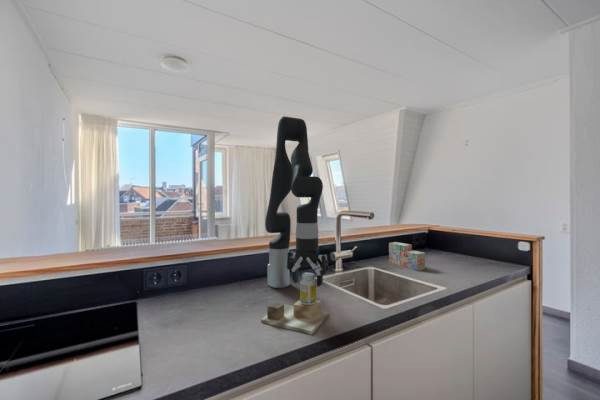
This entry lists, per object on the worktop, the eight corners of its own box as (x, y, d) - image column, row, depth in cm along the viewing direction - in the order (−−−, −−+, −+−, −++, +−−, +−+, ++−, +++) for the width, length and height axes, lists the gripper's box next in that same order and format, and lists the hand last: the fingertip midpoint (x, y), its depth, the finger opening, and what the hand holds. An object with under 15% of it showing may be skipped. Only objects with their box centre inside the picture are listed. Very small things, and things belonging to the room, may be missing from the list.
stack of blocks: (425, 269, 153) (425, 247, 152) (417, 271, 150) (417, 248, 150) (396, 261, 172) (396, 241, 172) (388, 262, 169) (388, 242, 169)
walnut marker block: (267, 318, 91) (267, 306, 91) (273, 313, 94) (273, 301, 94) (277, 320, 89) (277, 308, 89) (284, 315, 93) (284, 303, 93)
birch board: (260, 322, 90) (260, 319, 90) (282, 306, 103) (282, 304, 103) (311, 334, 82) (311, 331, 82) (328, 315, 95) (328, 313, 95)
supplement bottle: (300, 305, 91) (300, 276, 91) (299, 299, 96) (299, 272, 96) (317, 305, 91) (317, 276, 91) (314, 299, 97) (314, 271, 96)
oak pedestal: (293, 316, 92) (293, 304, 92) (302, 308, 98) (302, 297, 98) (312, 320, 89) (312, 308, 89) (321, 312, 95) (321, 300, 95)
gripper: (331, 235, 93) (331, 283, 94) (293, 233, 100) (293, 278, 100) (322, 239, 87) (322, 290, 87) (283, 236, 93) (283, 284, 93)
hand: (307, 284), depth 94 cm, fingers open, 8 cm apart
